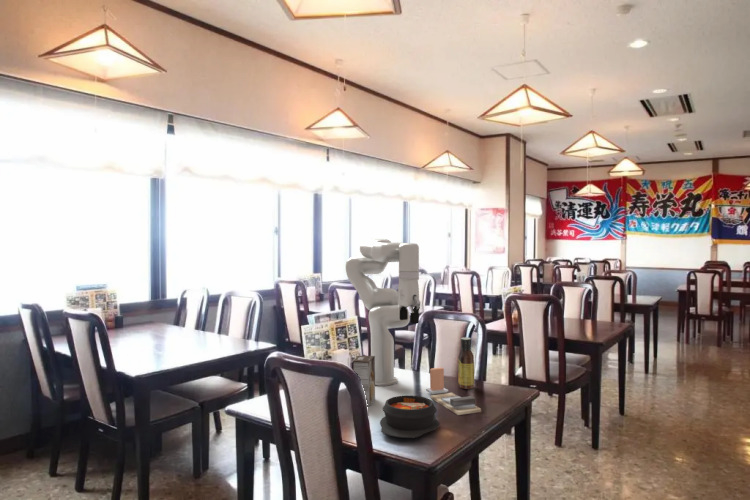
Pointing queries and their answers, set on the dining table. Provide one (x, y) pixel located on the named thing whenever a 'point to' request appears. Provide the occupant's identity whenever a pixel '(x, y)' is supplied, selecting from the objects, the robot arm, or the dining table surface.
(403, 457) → the dining table surface
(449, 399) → the ticket board
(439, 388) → the tan and white stand
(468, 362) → the sauce bottle
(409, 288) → the robot arm
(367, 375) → the coffee box
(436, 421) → the casserole
